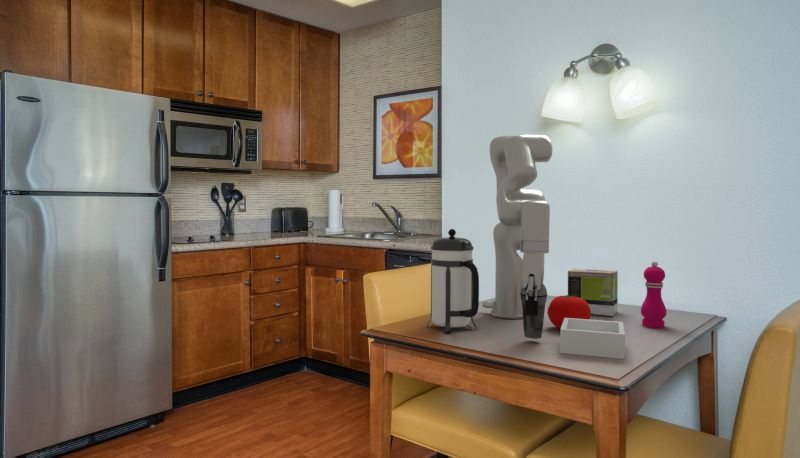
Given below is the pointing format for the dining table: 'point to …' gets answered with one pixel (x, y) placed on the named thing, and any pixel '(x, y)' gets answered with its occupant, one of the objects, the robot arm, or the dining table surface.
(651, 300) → the pepper mill
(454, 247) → the coffee press
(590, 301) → the tea box
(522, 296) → the beverage cup
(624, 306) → the dining table surface
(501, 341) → the dining table surface
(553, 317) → the tomato
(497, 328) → the dining table surface
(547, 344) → the dining table surface
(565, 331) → the box
